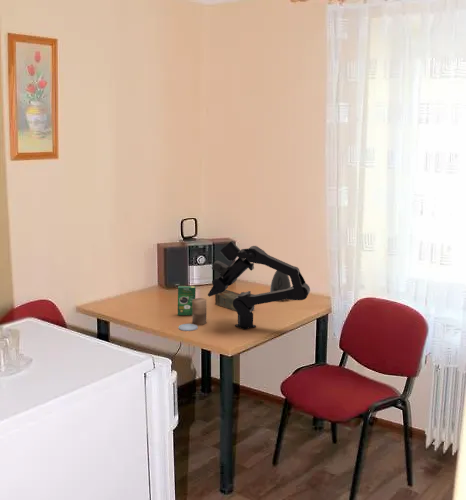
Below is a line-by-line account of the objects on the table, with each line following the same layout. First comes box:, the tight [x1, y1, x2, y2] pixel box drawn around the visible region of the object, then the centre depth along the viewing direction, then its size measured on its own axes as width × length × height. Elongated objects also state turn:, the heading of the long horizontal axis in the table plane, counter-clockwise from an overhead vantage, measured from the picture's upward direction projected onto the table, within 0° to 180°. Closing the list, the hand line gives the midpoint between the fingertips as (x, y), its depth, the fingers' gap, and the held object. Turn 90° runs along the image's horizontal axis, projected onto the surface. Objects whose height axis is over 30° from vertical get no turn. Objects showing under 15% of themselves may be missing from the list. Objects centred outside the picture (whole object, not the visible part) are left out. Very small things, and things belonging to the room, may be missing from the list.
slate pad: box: [178, 323, 199, 332], centre depth 261 cm, size 8×8×1 cm
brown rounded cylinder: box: [191, 297, 207, 326], centre depth 267 cm, size 6×6×10 cm
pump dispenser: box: [269, 270, 292, 292], centre depth 303 cm, size 10×10×15 cm
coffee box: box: [177, 285, 196, 316], centre depth 277 cm, size 8×3×13 cm, turn 93°
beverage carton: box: [214, 289, 255, 312], centre depth 290 cm, size 8×19×7 cm, turn 43°
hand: (211, 292), depth 264 cm, fingers open, 9 cm apart
